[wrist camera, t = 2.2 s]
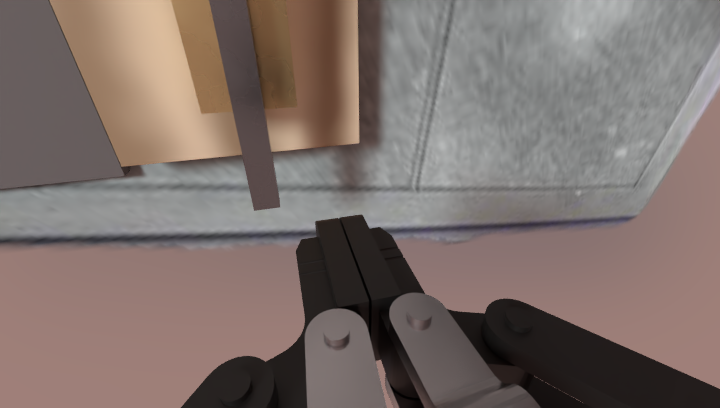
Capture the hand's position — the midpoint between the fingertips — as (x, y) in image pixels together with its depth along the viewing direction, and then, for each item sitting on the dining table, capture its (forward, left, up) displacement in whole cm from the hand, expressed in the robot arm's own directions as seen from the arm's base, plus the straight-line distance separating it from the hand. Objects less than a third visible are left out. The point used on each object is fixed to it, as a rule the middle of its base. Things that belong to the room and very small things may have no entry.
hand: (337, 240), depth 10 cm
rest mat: (+18, -2, -17) cm, 25 cm away
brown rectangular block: (+3, -6, -14) cm, 15 cm away
